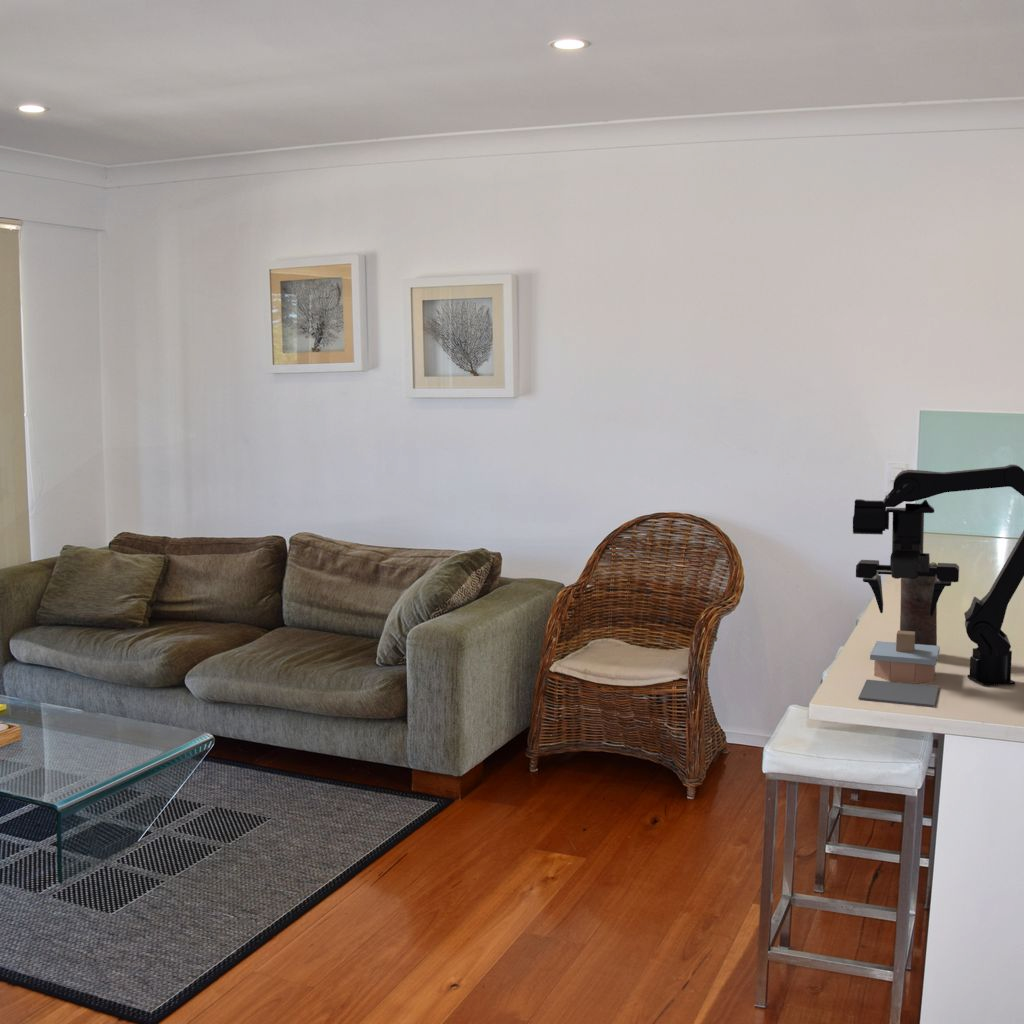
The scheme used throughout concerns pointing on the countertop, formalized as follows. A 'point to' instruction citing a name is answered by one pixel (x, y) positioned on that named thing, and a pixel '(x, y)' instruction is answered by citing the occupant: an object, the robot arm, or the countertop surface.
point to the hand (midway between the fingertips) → (906, 614)
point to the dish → (904, 671)
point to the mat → (899, 693)
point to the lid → (905, 650)
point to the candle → (919, 608)
